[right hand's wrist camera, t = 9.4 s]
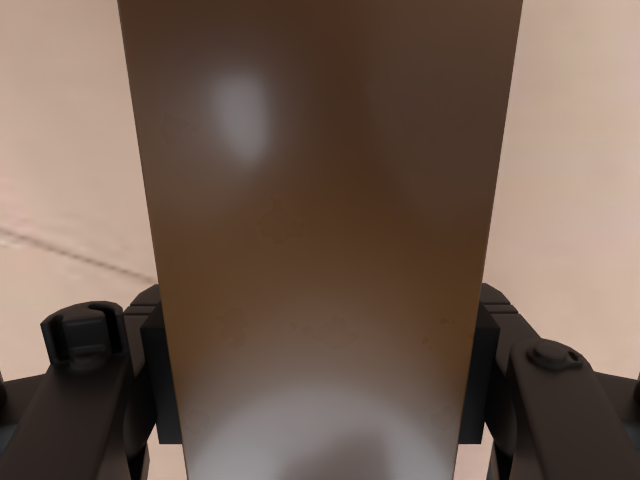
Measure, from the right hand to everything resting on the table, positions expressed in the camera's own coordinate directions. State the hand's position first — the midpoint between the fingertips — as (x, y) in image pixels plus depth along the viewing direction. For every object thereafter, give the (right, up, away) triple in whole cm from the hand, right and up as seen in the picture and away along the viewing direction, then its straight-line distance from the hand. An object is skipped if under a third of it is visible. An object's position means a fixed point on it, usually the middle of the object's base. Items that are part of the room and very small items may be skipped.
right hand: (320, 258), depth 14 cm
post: (0, -17, +7) cm, 19 cm away
